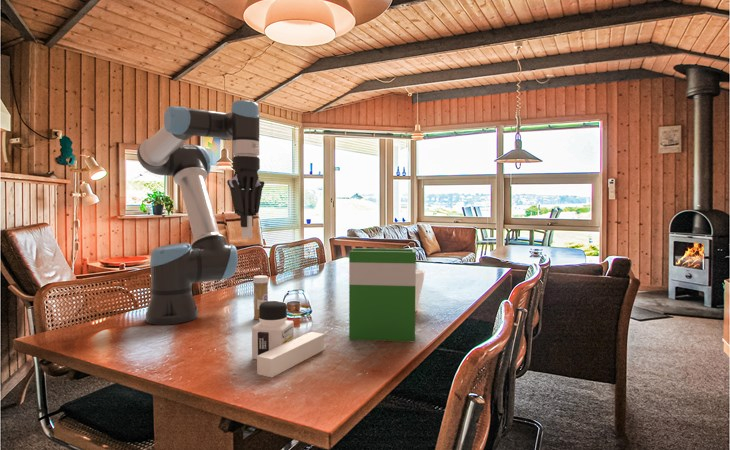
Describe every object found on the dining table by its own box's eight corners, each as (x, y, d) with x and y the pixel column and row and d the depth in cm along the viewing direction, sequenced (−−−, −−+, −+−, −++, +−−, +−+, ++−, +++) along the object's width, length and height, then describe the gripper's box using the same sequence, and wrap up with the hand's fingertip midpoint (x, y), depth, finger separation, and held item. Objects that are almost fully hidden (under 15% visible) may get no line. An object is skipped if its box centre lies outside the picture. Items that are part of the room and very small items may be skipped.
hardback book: (349, 339, 120) (349, 251, 119) (352, 331, 128) (352, 248, 126) (414, 341, 119) (415, 252, 117) (414, 333, 126) (415, 249, 125)
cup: (423, 307, 157) (423, 268, 156) (424, 314, 146) (424, 274, 145) (393, 306, 158) (393, 268, 157) (392, 313, 147) (392, 273, 146)
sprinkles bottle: (263, 320, 139) (263, 277, 138) (250, 319, 140) (250, 277, 139) (271, 317, 143) (270, 275, 142) (258, 315, 144) (258, 274, 144)
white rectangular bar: (257, 374, 96) (257, 355, 96) (311, 347, 114) (311, 331, 114) (271, 377, 95) (271, 359, 94) (324, 349, 112) (324, 334, 112)
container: (282, 362, 104) (281, 306, 103) (251, 359, 105) (250, 305, 105) (294, 351, 111) (294, 299, 110) (265, 348, 113) (265, 297, 112)
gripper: (239, 153, 120) (240, 240, 122) (271, 157, 132) (272, 237, 133) (219, 155, 124) (220, 239, 125) (252, 158, 135) (253, 236, 137)
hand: (247, 238), depth 129 cm, fingers closed
